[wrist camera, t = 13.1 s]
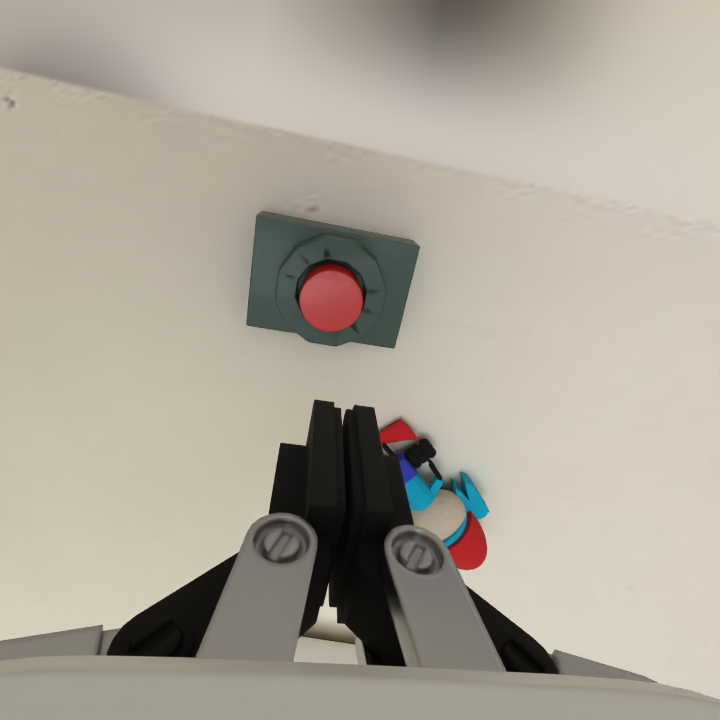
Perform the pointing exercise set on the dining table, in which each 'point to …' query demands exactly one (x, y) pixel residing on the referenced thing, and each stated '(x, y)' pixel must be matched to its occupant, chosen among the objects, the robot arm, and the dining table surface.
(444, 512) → the toy figure
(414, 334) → the dining table surface
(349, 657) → the mug
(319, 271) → the button
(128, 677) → the robot arm
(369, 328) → the button box
